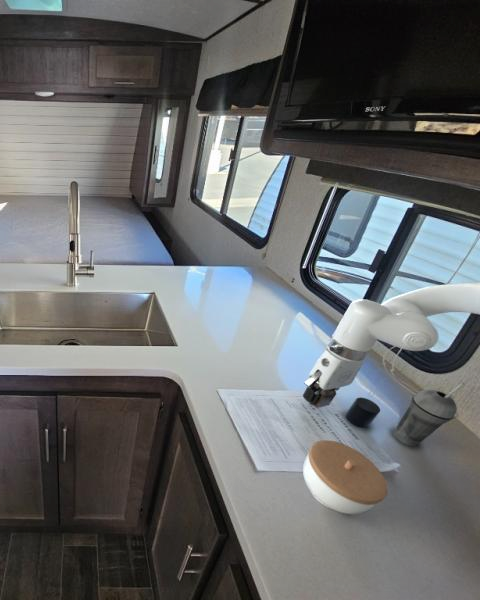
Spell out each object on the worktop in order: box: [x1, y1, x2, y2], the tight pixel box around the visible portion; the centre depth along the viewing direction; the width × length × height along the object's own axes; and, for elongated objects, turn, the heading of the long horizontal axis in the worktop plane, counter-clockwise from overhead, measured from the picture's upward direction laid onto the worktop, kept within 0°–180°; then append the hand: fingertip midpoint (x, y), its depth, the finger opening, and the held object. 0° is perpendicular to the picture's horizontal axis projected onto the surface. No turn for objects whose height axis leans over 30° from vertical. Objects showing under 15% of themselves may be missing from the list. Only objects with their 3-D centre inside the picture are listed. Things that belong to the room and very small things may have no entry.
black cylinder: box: [345, 396, 381, 429], centre depth 83 cm, size 5×5×6 cm
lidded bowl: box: [302, 439, 389, 515], centre depth 65 cm, size 13×13×11 cm
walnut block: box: [302, 383, 338, 409], centre depth 87 cm, size 4×4×4 cm
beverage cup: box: [393, 382, 466, 447], centre depth 76 cm, size 7×7×20 cm
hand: (316, 398), depth 88 cm, fingers closed on walnut block, 4 cm apart
